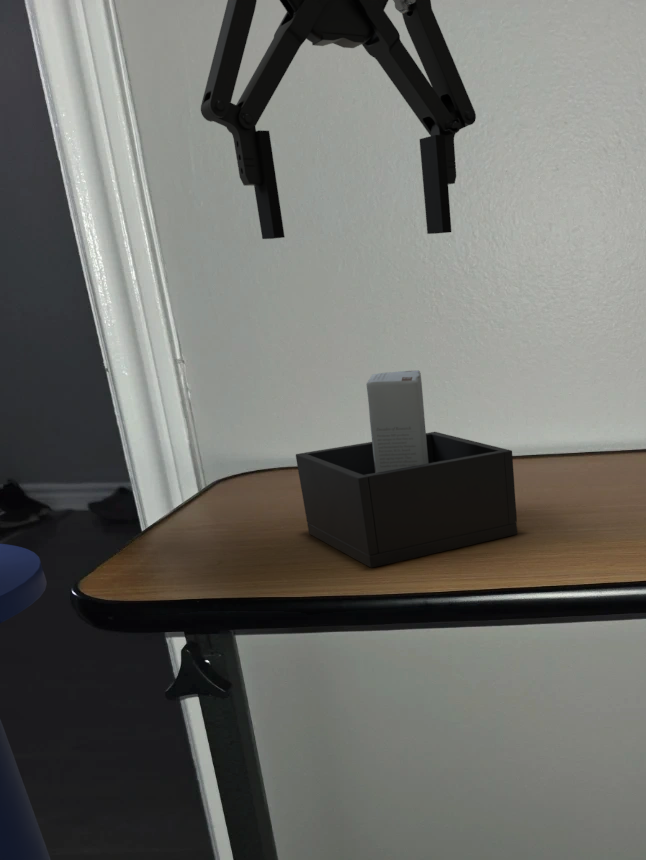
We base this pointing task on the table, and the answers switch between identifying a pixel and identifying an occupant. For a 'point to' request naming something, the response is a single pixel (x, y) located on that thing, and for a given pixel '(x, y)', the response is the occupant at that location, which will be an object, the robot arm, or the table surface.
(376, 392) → the cosmetic box
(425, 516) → the basket
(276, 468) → the table surface
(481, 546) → the table surface
